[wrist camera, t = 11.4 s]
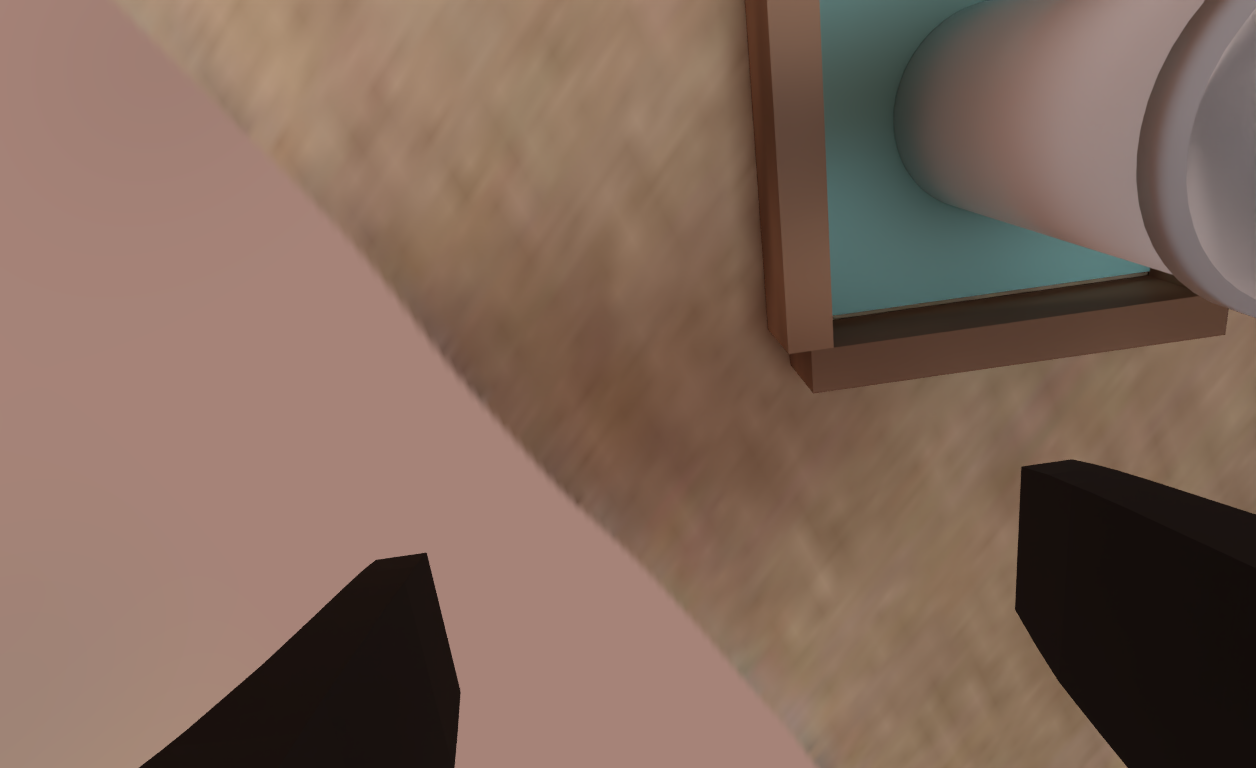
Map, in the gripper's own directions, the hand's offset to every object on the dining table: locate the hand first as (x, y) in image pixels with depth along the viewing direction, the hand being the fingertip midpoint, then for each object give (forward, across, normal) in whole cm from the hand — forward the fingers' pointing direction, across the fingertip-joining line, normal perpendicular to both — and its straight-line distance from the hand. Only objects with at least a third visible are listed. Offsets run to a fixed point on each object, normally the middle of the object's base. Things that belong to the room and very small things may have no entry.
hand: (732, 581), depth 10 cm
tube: (+10, -8, -4) cm, 14 cm away
